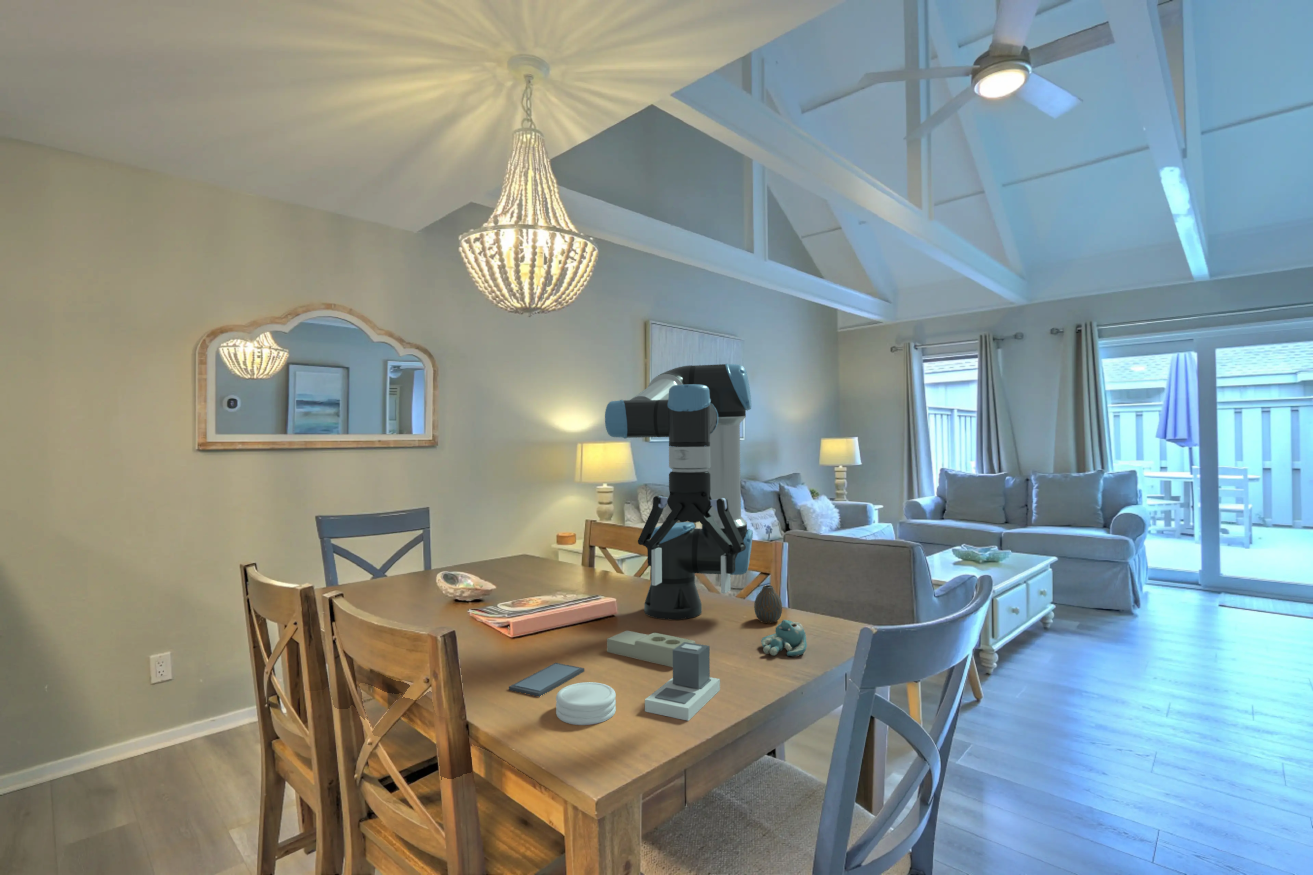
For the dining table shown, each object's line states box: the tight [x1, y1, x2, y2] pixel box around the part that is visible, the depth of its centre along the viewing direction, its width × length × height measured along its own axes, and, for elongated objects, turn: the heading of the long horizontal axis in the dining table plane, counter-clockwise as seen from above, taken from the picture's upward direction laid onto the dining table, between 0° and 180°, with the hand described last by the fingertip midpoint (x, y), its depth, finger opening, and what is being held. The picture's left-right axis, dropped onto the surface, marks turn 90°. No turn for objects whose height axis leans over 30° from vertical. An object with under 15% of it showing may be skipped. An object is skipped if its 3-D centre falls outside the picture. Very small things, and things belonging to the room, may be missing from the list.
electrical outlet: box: [606, 630, 696, 668], centre depth 134 cm, size 7×4×18 cm
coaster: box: [555, 681, 617, 726], centre depth 106 cm, size 10×10×4 cm
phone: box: [508, 662, 585, 698], centre depth 120 cm, size 14×7×1 cm, turn 152°
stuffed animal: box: [760, 619, 808, 657], centre depth 136 cm, size 11×7×12 cm
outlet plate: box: [644, 676, 721, 722], centre depth 110 cm, size 14×8×2 cm, turn 153°
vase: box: [753, 584, 783, 624], centre depth 158 cm, size 7×7×9 cm
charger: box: [672, 642, 711, 689], centre depth 113 cm, size 5×5×6 cm
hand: (690, 587), depth 114 cm, fingers open, 13 cm apart
